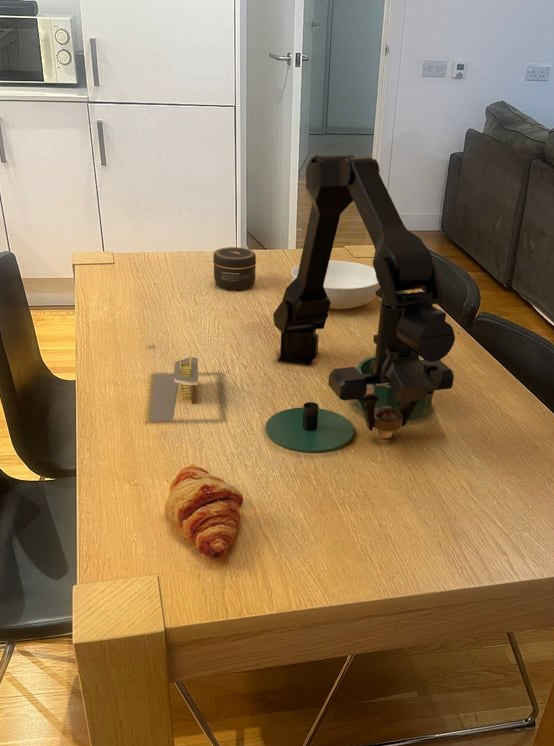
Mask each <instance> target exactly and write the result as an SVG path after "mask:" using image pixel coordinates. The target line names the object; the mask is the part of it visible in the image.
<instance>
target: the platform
mask: <svg viewBox="0 0 554 746" xmlns="http://www.w3.org/2000/svg"><path fill="white" fill-rule="evenodd" d="M198 359H199V358H197V357H192V354H189V355H188V357H186V358H183V359H182V358H180V359H179V360H177V361H174V370H173V373H167V374H166V373H161V374H160V373H159V374H158V373H157V374H156V373H155V374H154V375H153V386H152V394H151V395H152V396H151V405H150V417H149V422H150V423H152V422H153V423H154V422H155V423H156V422H157V423H158V422H159V423H160V422H161V423H162V422H174V415H175V410H176V405H177V404H176V403H177V397H178V393H179V385H180V392H181V401H191V405H193V403H194V399H193V398H194V396H193V395H194V392H193V391H194V390H193V388H194V386H198V385H199V362H198Z"/></svg>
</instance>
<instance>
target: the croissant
mask: <svg viewBox="0 0 554 746" xmlns="http://www.w3.org/2000/svg"><path fill="white" fill-rule="evenodd" d="M243 503H244V496H243V494H242V493H241V491H239V489H238V488H237V487H235V486H234V485H232V484H229V483H227V482H226V481H225V480H223V479H222V478H220V477H218V476H216V475H214V474H211V473H209V472H208V471H207V470H206V469H204V468H203V467H200V466H197V465H196V464H194V463H191V464H190V465H188V466H185V467H182V468H181V469H180V470H179V471H178V473H177V474H176V476H175V477H174V478H173V479H172V480H171V483H170V486H169V496H168V497H167V499H166V502H165V505H164V513H165V515H166V516H167V518H168V519H169V520H171V523H172V526H173V528H174V530H175V531H176V532H177V533H178V534H179V535H180V536H181V537H182V538H184V539H185V540H186V541H187V542H188V543H190V544H191V545H192V546H193V547H194V548H195V549H196V550H197V551H198V552H199V553H200V554H202V555H204V556H207V557H210V558H215V559H220V558H223V557H224V556H225V555H227V553H228V551H229V547H231V545H232V544H233V543H234V542H235V540H236V533H237V531H238V527H239V525H240V521H241V507H242V506H243Z"/></svg>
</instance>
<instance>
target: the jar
mask: <svg viewBox="0 0 554 746" xmlns="http://www.w3.org/2000/svg"><path fill="white" fill-rule="evenodd" d="M212 263H213V279H214V283H215V285H216V286H217V288H220V289H222V290H224V291H231V292H242V291H247V290H249V289H251V288H253V286H254V284H255V281H256V265H257V255H256V252H254V250H252V249H249V248H245V247H239V246H238V247H237V246H229V247H222V248H218V249H216V250H215V251H214V252H213V260H212Z"/></svg>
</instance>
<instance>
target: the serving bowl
mask: <svg viewBox="0 0 554 746" xmlns="http://www.w3.org/2000/svg"><path fill="white" fill-rule="evenodd" d="M299 266H300V263H299V264H297V265H295V266H294V267H292V269H291V271H290V274H291V276H290V277H291V283H292V282H293V281H294V280H295V279H296V278H297V276H298V271H299ZM379 288H380V285H379V283H378V281H377V278H376V272H375V269H374V266H370V265H367V264H363V263H359V262H354V261H347V260H337V259H336V260H335V259H333V260H332V259H330V260H329V264H328V269H327V273H326V277H325V281H324V289H325V291H326V294H327V296H328V298H329V300H330V302H331V304H330V307H329V309H333V310H344V309H353V308H357V307H362V306H364V305H366V304H367V303H369V302H371V301H372V300H374V298H376V297H377V296H376V294H375V292H376V291H377V290H378V289H379Z"/></svg>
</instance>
